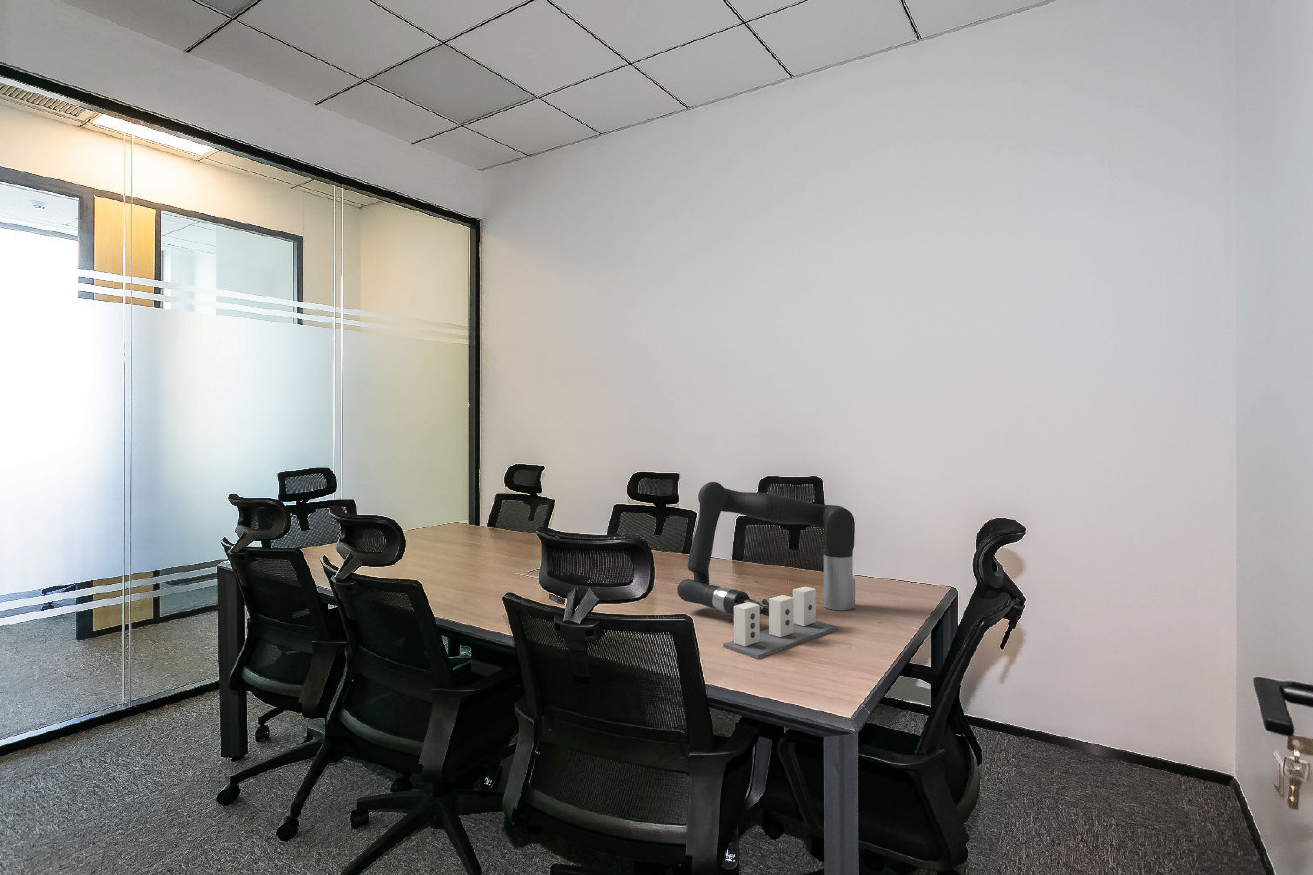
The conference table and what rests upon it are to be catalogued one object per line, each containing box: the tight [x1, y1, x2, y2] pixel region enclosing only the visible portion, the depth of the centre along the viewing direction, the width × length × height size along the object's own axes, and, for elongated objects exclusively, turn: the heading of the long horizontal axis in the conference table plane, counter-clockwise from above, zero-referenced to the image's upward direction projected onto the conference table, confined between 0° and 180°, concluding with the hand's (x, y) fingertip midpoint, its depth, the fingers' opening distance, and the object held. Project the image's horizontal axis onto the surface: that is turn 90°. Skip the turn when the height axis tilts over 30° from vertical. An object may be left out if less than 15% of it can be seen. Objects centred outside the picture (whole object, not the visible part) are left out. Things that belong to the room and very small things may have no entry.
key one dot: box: [792, 586, 817, 626], centre depth 195 cm, size 4×6×10 cm
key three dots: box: [733, 602, 761, 646], centre depth 178 cm, size 4×6×10 cm
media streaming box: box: [548, 593, 565, 606], centre depth 229 cm, size 15×15×3 cm
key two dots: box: [768, 594, 794, 637], centre depth 185 cm, size 4×6×10 cm
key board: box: [723, 620, 838, 660], centre depth 185 cm, size 12×36×1 cm, turn 131°
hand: (775, 613), depth 186 cm, fingers closed
